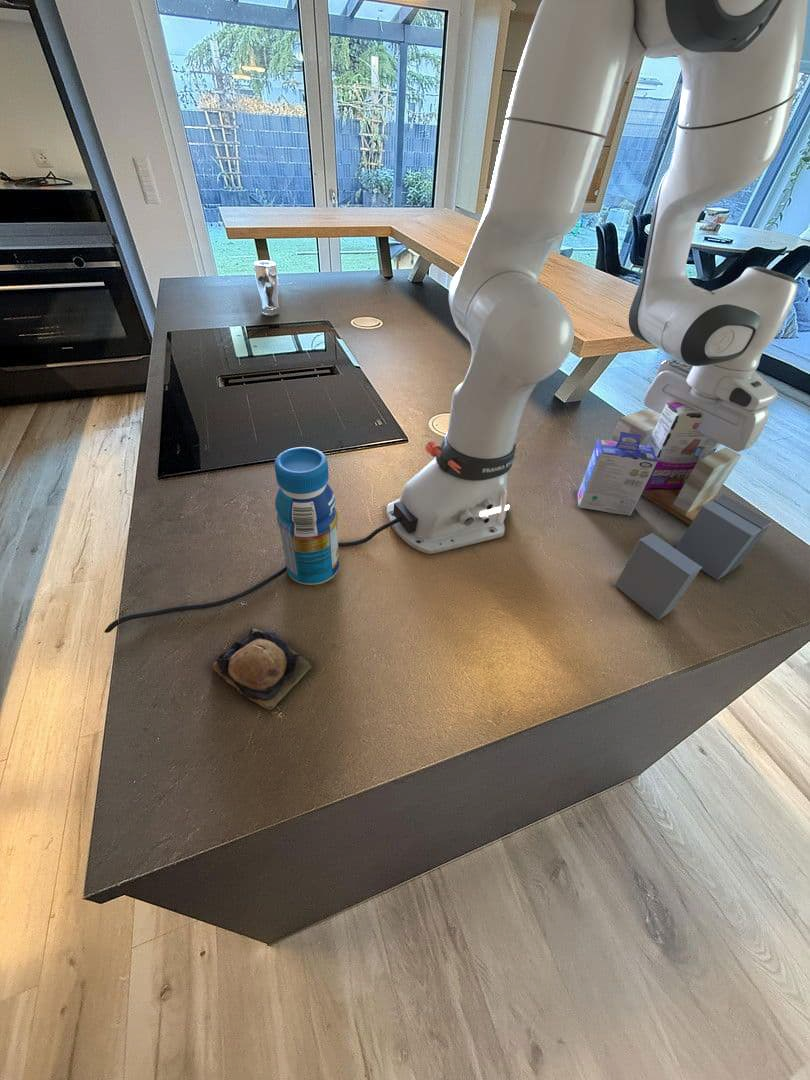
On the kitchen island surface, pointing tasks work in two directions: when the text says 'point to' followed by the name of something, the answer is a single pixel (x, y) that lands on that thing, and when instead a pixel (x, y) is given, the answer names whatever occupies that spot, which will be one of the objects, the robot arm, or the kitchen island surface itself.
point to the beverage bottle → (307, 515)
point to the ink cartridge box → (616, 475)
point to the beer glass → (267, 284)
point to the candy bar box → (675, 446)
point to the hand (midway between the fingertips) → (680, 447)
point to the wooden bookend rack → (698, 484)
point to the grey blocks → (690, 555)
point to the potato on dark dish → (261, 667)
